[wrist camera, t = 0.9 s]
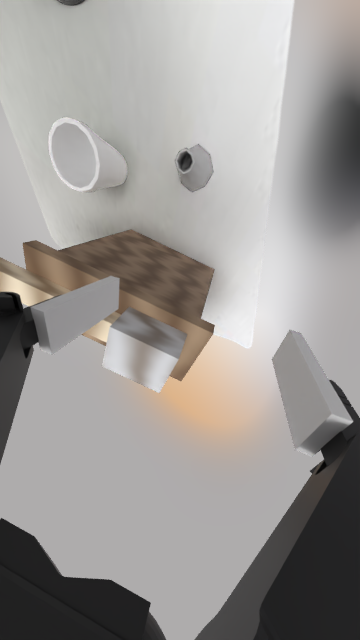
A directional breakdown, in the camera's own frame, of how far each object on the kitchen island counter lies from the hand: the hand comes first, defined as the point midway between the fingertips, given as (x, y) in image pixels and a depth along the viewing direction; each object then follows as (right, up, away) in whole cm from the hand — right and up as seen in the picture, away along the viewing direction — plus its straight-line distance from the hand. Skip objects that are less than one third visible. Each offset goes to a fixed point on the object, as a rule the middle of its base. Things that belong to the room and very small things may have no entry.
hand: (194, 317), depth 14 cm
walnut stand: (-5, +15, +37) cm, 40 cm away
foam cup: (-16, +34, +27) cm, 46 cm away
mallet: (-16, +2, +14) cm, 22 cm away
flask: (+2, +31, +24) cm, 39 cm away
